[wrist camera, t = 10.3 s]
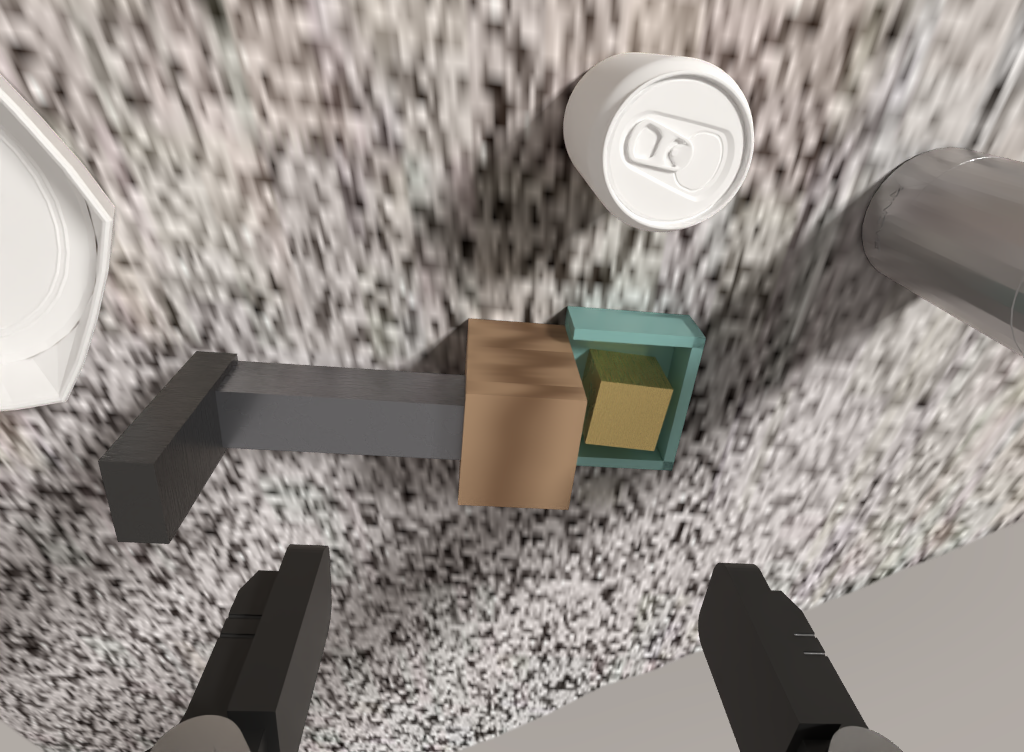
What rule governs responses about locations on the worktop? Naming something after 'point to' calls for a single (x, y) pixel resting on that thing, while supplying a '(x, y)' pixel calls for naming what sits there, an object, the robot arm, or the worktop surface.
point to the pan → (46, 258)
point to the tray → (649, 336)
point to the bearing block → (520, 416)
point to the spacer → (624, 400)
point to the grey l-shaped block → (267, 428)
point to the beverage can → (659, 138)
